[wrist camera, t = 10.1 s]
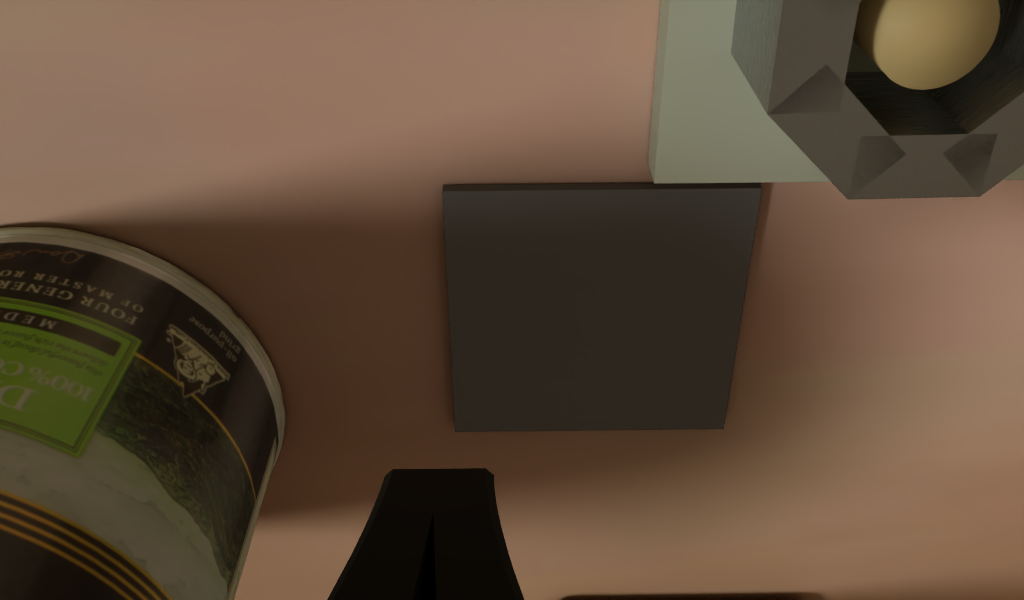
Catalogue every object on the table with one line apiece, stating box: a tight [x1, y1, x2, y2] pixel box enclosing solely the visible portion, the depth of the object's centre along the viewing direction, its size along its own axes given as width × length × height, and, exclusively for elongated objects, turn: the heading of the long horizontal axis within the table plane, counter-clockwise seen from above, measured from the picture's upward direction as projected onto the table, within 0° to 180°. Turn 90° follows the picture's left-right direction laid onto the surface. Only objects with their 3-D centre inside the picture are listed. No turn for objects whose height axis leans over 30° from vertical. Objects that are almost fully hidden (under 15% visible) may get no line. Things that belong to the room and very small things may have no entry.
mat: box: [442, 182, 762, 432], centre depth 23 cm, size 7×7×1 cm
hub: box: [648, 0, 1024, 183], centre depth 17 cm, size 8×8×4 cm
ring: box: [731, 0, 1024, 199], centre depth 16 cm, size 6×6×3 cm
